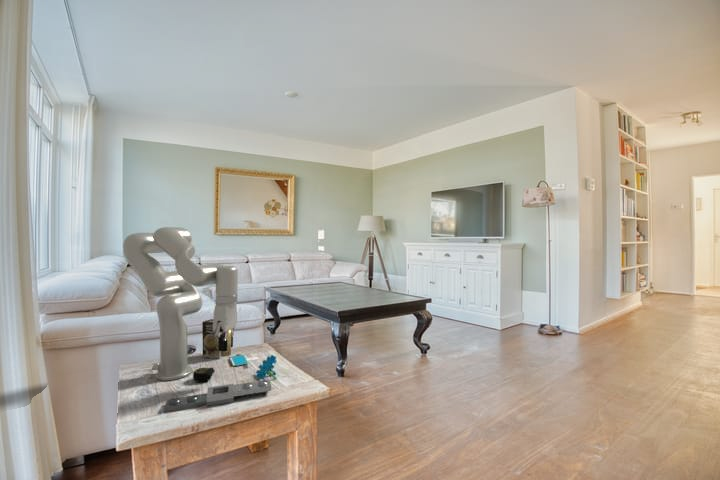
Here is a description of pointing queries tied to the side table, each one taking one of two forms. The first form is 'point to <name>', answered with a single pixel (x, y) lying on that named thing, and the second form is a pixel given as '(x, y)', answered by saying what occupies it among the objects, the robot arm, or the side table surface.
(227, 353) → the pin
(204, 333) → the coffee box
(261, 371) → the gear
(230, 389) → the gray studded rail
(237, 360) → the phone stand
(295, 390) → the side table surface
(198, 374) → the tape measure
